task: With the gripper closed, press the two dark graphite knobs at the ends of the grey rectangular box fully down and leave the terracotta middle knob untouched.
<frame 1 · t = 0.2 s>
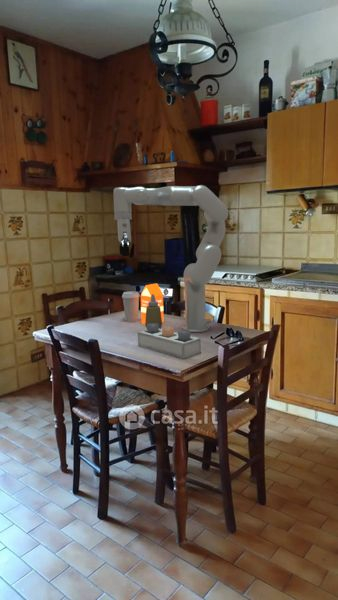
hand: (124, 255, 191), 37 cm above the table, tool pointing down, fingers open, 9 cm apart
coffee cup: (131, 320, 225), on the table
grey rectangular box: (168, 349, 174), on the table
knob 1: (153, 330, 179), point 6 cm above the table, slide at 0.0 cm
orange juice: (152, 323, 220), on the table
middle knob: (168, 333, 172), point 6 cm above the table, slide at 0.0 cm
squeeze bottle: (154, 332, 202), on the table
knob 2: (184, 337, 166), point 6 cm above the table, slide at 0.0 cm
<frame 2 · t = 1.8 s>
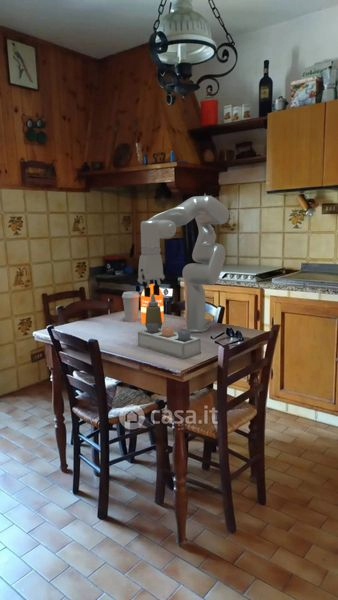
hand: (152, 295, 176), 21 cm above the table, tool pointing down, fingers open, 4 cm apart
nothing on the table moved.
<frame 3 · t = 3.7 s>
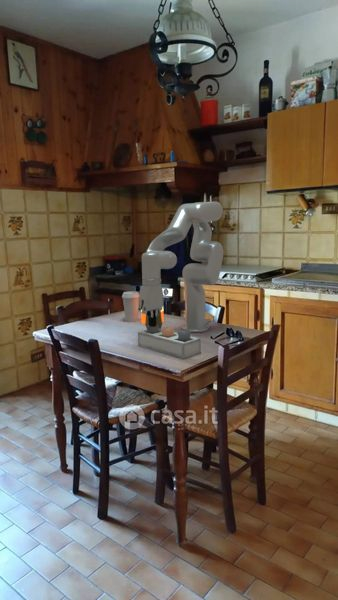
hand: (152, 325, 178), 8 cm above the table, tool pointing down, fingers closed
knob 1: (153, 331, 179), point 6 cm above the table, slide at 0.6 cm, touching gripper
everything else where it was.
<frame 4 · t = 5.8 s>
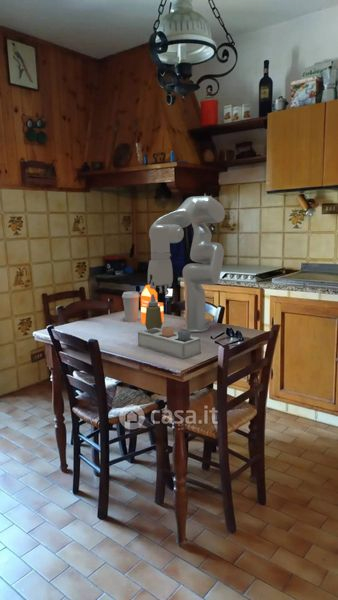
hand: (161, 302, 172), 19 cm above the table, tool pointing down, fingers closed
knob 1: (153, 336, 179), point 4 cm above the table, slide at 2.6 cm
everything else where it was.
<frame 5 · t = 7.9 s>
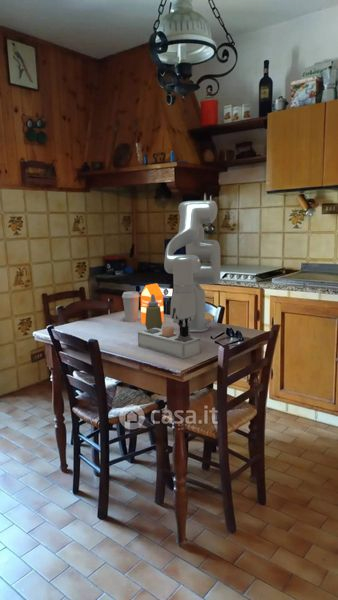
hand: (184, 335, 166), 7 cm above the table, tool pointing down, fingers closed
knob 2: (184, 341, 166), point 5 cm above the table, slide at 1.6 cm, touching gripper
everything else where it was.
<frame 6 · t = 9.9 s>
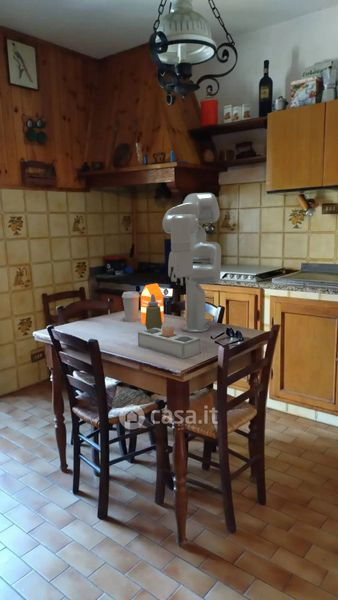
hand: (182, 294, 168), 23 cm above the table, tool pointing down, fingers closed
knob 2: (184, 344, 167), point 4 cm above the table, slide at 2.5 cm
everything else where it was.
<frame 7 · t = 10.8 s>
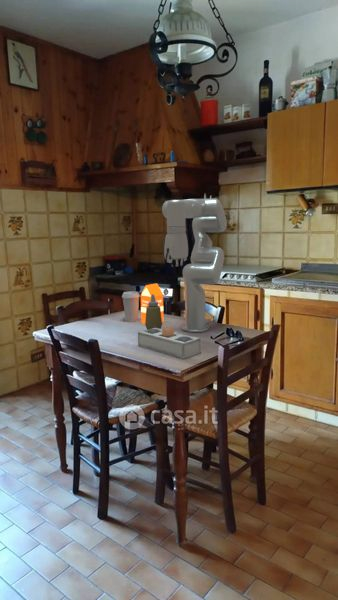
hand: (177, 275, 177), 29 cm above the table, tool pointing down, fingers closed
nothing on the table moved.
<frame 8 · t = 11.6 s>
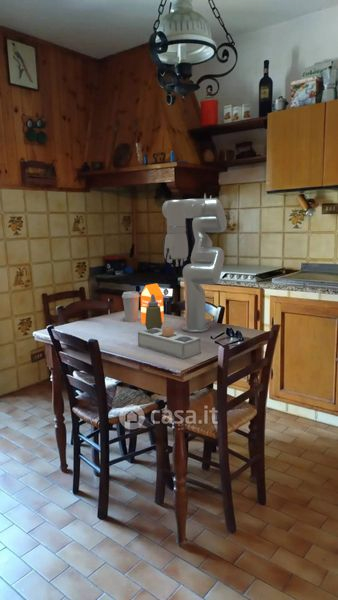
hand: (177, 275, 177), 29 cm above the table, tool pointing down, fingers closed
nothing on the table moved.
at the end: knob 1 slide at 2.6 cm; knob 2 slide at 2.5 cm; middle knob slide at 0.0 cm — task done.
